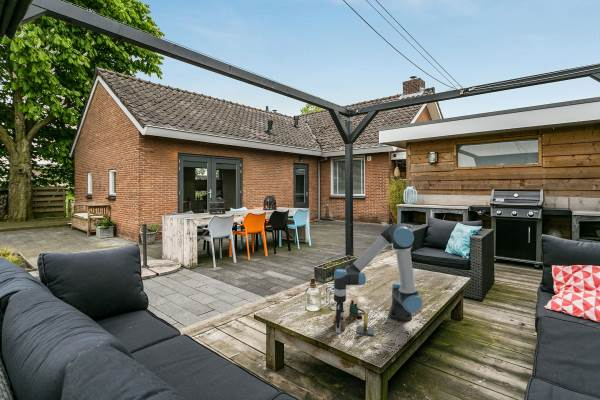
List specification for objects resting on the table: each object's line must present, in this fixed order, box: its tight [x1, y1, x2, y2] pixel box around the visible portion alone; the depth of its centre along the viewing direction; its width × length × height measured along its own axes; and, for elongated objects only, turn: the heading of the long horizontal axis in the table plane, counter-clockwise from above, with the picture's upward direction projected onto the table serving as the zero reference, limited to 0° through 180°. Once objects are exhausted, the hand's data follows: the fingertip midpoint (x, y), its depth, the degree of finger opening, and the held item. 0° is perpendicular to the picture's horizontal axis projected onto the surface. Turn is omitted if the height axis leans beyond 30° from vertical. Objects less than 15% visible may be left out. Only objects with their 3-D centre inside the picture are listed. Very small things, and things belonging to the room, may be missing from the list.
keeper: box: [356, 311, 375, 337], centre depth 187 cm, size 10×9×12 cm
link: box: [332, 315, 347, 332], centre depth 192 cm, size 7×7×6 cm
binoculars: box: [348, 299, 365, 320], centre depth 208 cm, size 9×11×10 cm
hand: (339, 327), depth 192 cm, fingers open, 13 cm apart
